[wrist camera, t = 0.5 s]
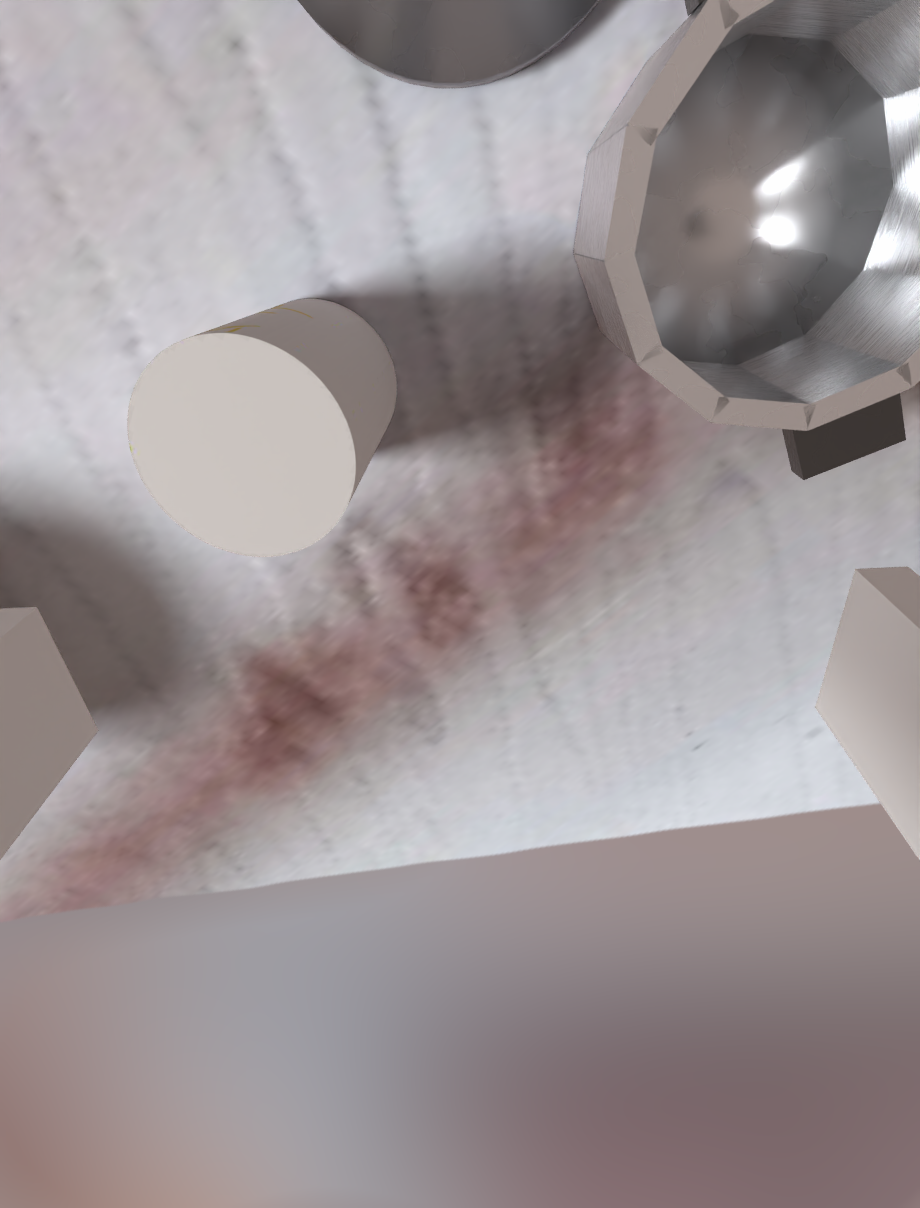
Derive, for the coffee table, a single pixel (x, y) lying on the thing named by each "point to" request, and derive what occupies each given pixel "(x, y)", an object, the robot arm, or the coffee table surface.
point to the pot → (768, 220)
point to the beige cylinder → (263, 425)
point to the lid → (448, 35)
